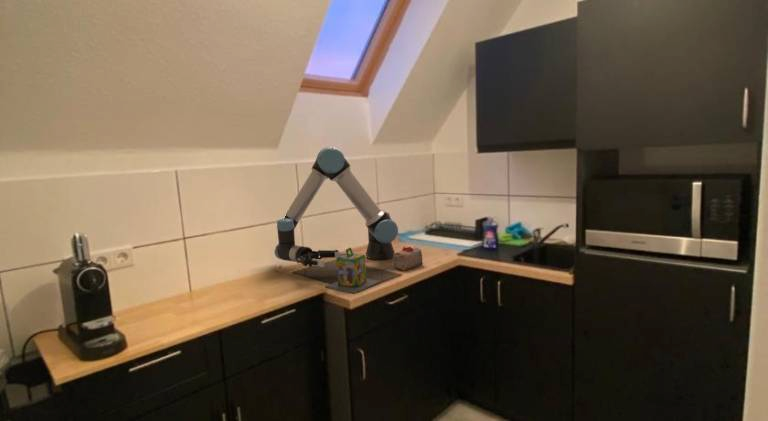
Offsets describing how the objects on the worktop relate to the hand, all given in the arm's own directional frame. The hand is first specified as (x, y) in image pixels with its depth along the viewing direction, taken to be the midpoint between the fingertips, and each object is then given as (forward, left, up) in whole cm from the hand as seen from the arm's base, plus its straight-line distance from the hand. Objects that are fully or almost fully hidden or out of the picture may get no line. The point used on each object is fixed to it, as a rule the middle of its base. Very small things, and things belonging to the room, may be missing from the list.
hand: (335, 260), depth 180 cm
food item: (-33, +14, -10) cm, 38 cm away
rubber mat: (0, +9, -9) cm, 13 cm away
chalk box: (0, +9, -9) cm, 13 cm away
